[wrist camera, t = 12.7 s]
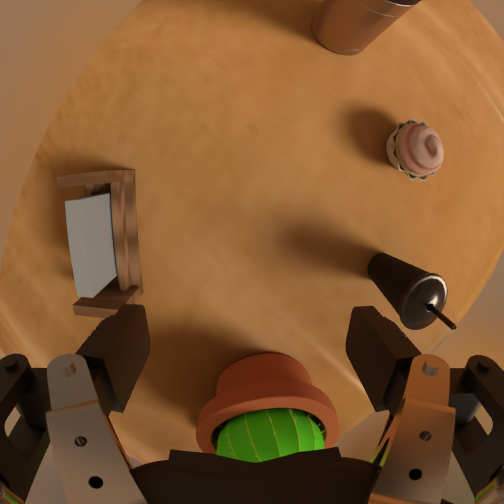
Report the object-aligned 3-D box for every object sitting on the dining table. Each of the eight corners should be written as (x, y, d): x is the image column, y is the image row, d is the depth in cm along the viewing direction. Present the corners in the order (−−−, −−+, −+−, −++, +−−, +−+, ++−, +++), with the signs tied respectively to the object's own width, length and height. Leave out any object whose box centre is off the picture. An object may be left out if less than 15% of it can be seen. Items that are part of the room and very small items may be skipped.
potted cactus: (299, 321, 44) (341, 447, 20) (333, 399, 50) (368, 498, 26) (183, 365, 46) (153, 484, 22) (238, 431, 52) (238, 529, 28)
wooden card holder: (90, 174, 36) (56, 176, 28) (135, 169, 37) (106, 170, 28) (101, 289, 42) (74, 314, 33) (143, 292, 42) (122, 320, 33)
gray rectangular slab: (102, 192, 36) (64, 201, 27) (116, 191, 36) (80, 199, 27) (109, 270, 40) (77, 296, 30) (122, 270, 40) (92, 297, 30)
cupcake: (369, 125, 36) (403, 115, 26) (416, 119, 35) (453, 112, 26) (383, 184, 38) (419, 190, 29) (427, 175, 38) (467, 179, 28)
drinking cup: (356, 251, 41) (429, 310, 22) (397, 239, 41) (480, 285, 22) (362, 294, 43) (424, 367, 24) (400, 281, 43) (472, 341, 24)
